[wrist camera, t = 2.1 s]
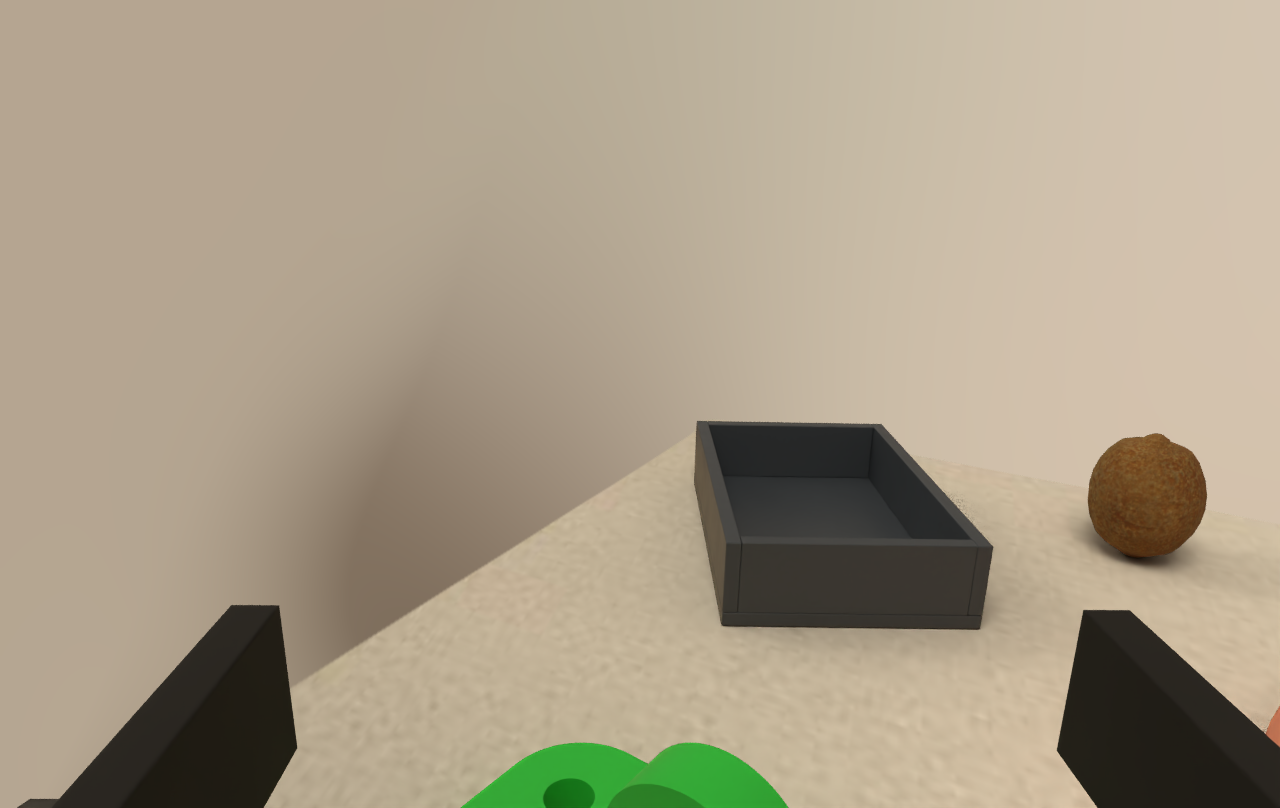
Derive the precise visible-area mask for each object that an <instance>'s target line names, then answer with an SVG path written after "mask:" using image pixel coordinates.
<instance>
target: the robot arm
mask: <svg viewBox="0 0 1280 808" xmlns="http://www.w3.org/2000/svg"><path fill="white" fill-rule="evenodd" d="M296 749H297V742H296V734H295V726H294V719H293V711H292V703H291V695H290V687H289V681H288V672H287V664H286V657H285V648H284V641H283V633H282V626H281V618H280V610H279V606H274V605H270V606H267V605H266V606H265V605H264V606H261V605H259V606H258V605H231V606H230V607H229V609H228V610H227V611H226V612H225V613H224V614H223V615H222V616H221V618H220V619H219V620H218V621H217V622H216V623H215V624H214V626H213V627H212V628H211V629H210V630H209V631H208V632H207V633H206V635H205V636H204V637H203V638H202V639H201V640H200V641H199V642H198V643H197V644H196V646H195V647H194V648H193V649H192V650H191V651H190V653H189V654H188V655H187V656H186V657H185V658H184V659H183V660H182V661H181V663H180V664H179V665H178V666H177V667H176V668H175V670H173V672H172V673H171V674H170V675H169V676H168V677H167V678H166V679H165V681H164V682H163V683H162V684H161V685H160V686H159V687H158V688H157V690H156V691H155V692H154V693H153V694H152V695H151V696H150V697H149V698H148V700H147V701H146V702H145V703H144V704H143V705H142V706H141V707H140V709H139V710H138V711H137V712H136V713H135V714H134V715H133V716H132V718H131V719H130V720H129V721H128V722H127V723H126V724H125V725H124V727H123V728H122V729H121V730H120V731H119V732H118V733H117V735H116V736H115V737H114V738H113V739H112V740H111V741H110V742H109V744H108V745H107V746H106V747H105V748H104V749H103V750H102V751H101V752H100V754H99V755H98V756H97V757H96V758H95V759H94V760H93V762H92V763H91V764H90V765H89V766H88V767H87V768H86V769H85V771H84V772H83V773H82V774H81V775H80V776H79V777H78V778H77V780H76V781H75V782H74V783H73V784H72V785H71V786H70V787H69V789H68V790H67V791H66V792H65V793H64V794H63V795H62V796H61V798H60V799H30V800H28V801H26V802H25V803H23V804H22V805H21V806H19V807H18V808H264V806H265V804H266V803H267V801H268V799H269V797H270V796H271V794H272V792H273V790H274V788H275V787H276V785H277V783H278V781H279V780H280V778H281V776H282V774H283V772H284V771H285V769H286V767H287V765H288V764H289V762H290V760H291V758H292V756H293V755H294V753H295V751H296ZM1057 752H1058V753H1059V754H1060V756H1061V757H1062V759H1063V760H1064V761H1065V763H1066V764H1067V766H1068V767H1069V768H1070V770H1071V771H1072V773H1073V774H1074V775H1075V777H1076V778H1077V780H1078V781H1079V782H1080V784H1081V785H1082V787H1083V788H1084V789H1085V791H1086V792H1087V794H1088V795H1089V796H1090V798H1091V799H1092V801H1093V802H1094V803H1095V805H1096V806H1097V808H1280V747H1279V746H1278V745H1277V744H1276V743H1275V742H1273V741H1272V740H1271V739H1270V738H1269V737H1268V736H1267V735H1266V734H1265V733H1264V732H1262V731H1261V730H1260V729H1259V728H1258V727H1257V726H1256V725H1255V724H1254V723H1253V722H1252V721H1250V720H1249V719H1248V718H1247V717H1246V716H1245V715H1244V714H1243V713H1242V712H1241V711H1239V710H1238V709H1237V708H1236V707H1235V706H1234V705H1233V704H1232V703H1231V702H1230V701H1229V700H1227V699H1226V698H1225V697H1224V696H1223V695H1222V694H1221V693H1220V692H1219V691H1218V690H1216V689H1215V688H1214V687H1213V686H1212V685H1211V684H1210V683H1209V682H1208V681H1207V680H1205V679H1204V678H1203V677H1202V676H1201V675H1200V674H1199V673H1198V672H1197V671H1196V670H1195V669H1193V668H1192V667H1191V666H1190V665H1189V664H1188V663H1187V662H1186V661H1185V660H1184V659H1182V658H1181V657H1180V656H1179V655H1178V654H1177V653H1176V652H1175V651H1174V650H1173V649H1171V648H1170V647H1169V646H1168V645H1167V644H1166V643H1165V642H1164V641H1163V640H1162V639H1161V638H1159V637H1158V636H1157V635H1156V634H1155V633H1154V632H1153V631H1152V630H1151V629H1150V628H1148V627H1147V626H1146V625H1145V624H1144V623H1143V622H1142V621H1141V620H1140V619H1139V618H1137V617H1136V616H1135V615H1134V614H1133V613H1132V612H1131V611H1130V610H1083V615H1082V620H1081V626H1080V631H1079V636H1078V642H1077V647H1076V652H1075V657H1074V663H1073V668H1072V673H1071V678H1070V684H1069V689H1068V694H1067V699H1066V705H1065V710H1064V715H1063V721H1062V726H1061V731H1060V736H1059V742H1058V747H1057Z"/></svg>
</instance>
